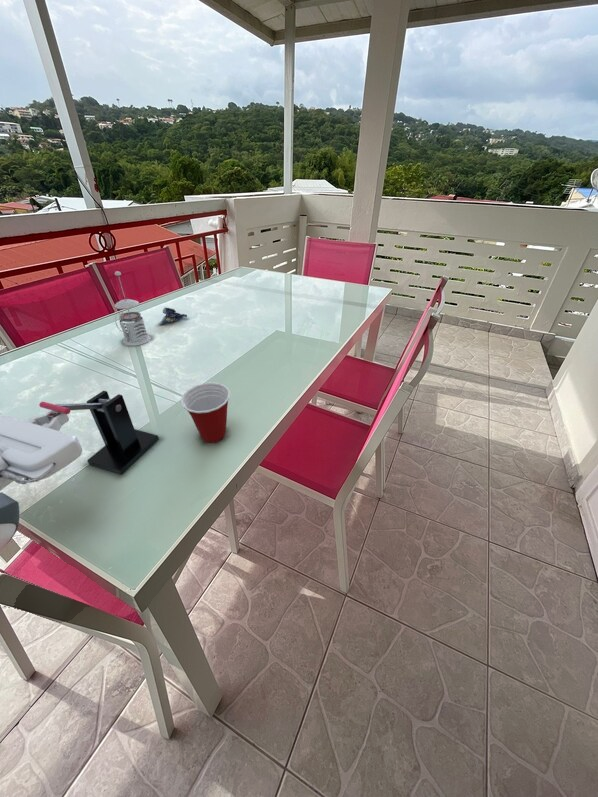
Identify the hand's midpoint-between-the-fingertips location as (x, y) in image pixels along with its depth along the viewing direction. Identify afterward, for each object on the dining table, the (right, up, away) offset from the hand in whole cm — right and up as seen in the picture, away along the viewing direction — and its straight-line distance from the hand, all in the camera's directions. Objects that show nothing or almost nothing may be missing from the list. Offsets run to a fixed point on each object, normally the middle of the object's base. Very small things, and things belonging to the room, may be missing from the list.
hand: (61, 414), depth 59 cm
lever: (+1, 0, +4) cm, 4 cm away
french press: (-19, +25, +65) cm, 72 cm away
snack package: (-11, +36, +82) cm, 90 cm away
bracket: (+3, -9, +16) cm, 19 cm away
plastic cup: (+22, -6, +21) cm, 31 cm away
